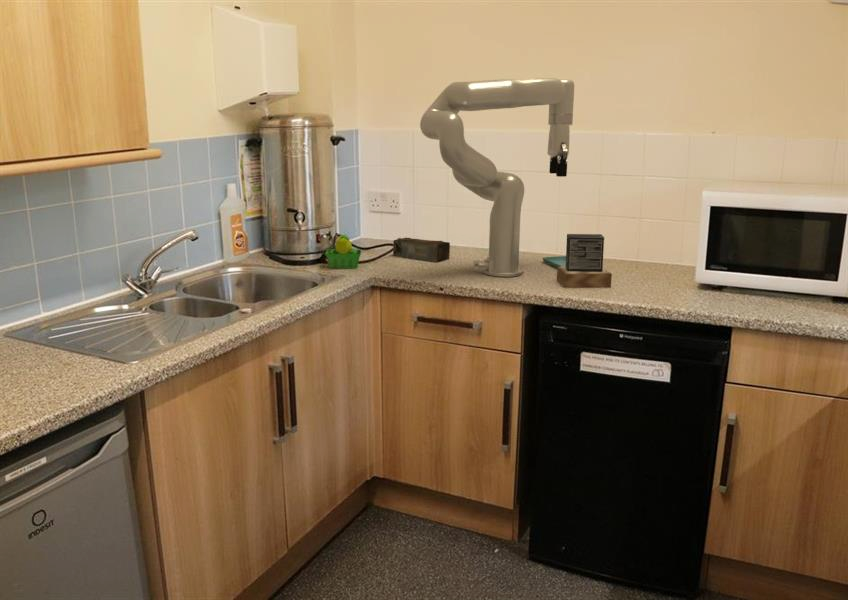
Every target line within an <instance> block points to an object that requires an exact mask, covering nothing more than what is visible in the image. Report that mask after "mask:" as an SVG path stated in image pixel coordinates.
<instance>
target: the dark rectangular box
mask: <svg viewBox="0 0 848 600" xmlns="http://www.w3.org/2000/svg"><path fill="white" fill-rule="evenodd" d="M392 244H393V250H392V251H393V252H392V253H393V257H397V258H402V259H403V258H404V259H411V260H418V261H425V262H426V261H427V262H432V261H433V263H440V262H444V261H447V259H448V260H450V255H451V254H450V250H451V249H450V247H451V243H450V242H447V241H443V240H429V239H428V240H427V239H421V238H420V239H418V238H412V237H403V238H401V237H398V238H397V239H394V240H393V243H392Z"/></svg>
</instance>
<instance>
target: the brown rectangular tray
mask: <svg viewBox="0 0 848 600" xmlns="http://www.w3.org/2000/svg"><path fill="white" fill-rule="evenodd" d="M612 276H613V275H612V273H611V272H610V271H608V270H607V269H606V268H605V267H603V271H602V272H594V271H567V269H566V266H559V267H557V268H556V281H557V280H558V281H559V282H560V283H561V284H560V283H559V282H558V281H557V282H558V283H559V284H560V285H563V286H564V287H570V288H612ZM563 286H562V287H563ZM564 287H563V288H564Z"/></svg>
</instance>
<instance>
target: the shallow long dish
mask: <svg viewBox="0 0 848 600" xmlns="http://www.w3.org/2000/svg"><path fill="white" fill-rule="evenodd" d="M541 259H542V260H543V262H544V264H547V265H549V266H551V267H553V268H555V269H557V267H559V266H566V255H562V256H561V255H560V256H545V257H542V258H541Z"/></svg>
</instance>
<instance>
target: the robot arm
mask: <svg viewBox="0 0 848 600" xmlns="http://www.w3.org/2000/svg"><path fill="white" fill-rule="evenodd" d="M574 97H575V82H574V80H572V79H559V78H556V77H555V78H553V77H552V78H551V77H549V78H548V77H546V78H543V77H542V78H534V79H514V78H513V79H509V78H508V79H507V78H506V79H505V78H503V79H501V78H500V79H490V80H489V79H488V80H477V81H476V80H474V81H472V80H471V81H455V82H452V83H450V84H448V85H447V86H446V87H445V88H444V90H442V91H441V92H440V94H439V95H438V96H437V97H436V98H435V100H434V101H433V102H432V103H431V104H430V106H429V107H428V108H427V109H426V110H425V111H424V113H423V115H422V117H421V118H420V122H419V127H420V131H421V133H422V134H423V136H425V137H426V138H428V139H431V140H436V141H437V140H438V141H439V142H438V143H439V144H438V145H439V150H440V151H439V152H440V157H441V160H443V162H444V163H445V164H446V165H447V167H449V168H451V169H452V171H451V172H452V175H453V177H454V179H455V180H456V181H457V183H459V184H460V185H461V186H463V187H465V188H466V189H467V190H469V191H471V192H472V193H474V194H475V195H477V196H478V197H480V198H481V199H484V200H486V201H490V202H493V203H492V207H491V210H490V214H489V231H488V232H489V235H488V236H489V237H488V238H489V239H488V242H489V243H488V256H486V259H483V260H476V259H475V260H473V267H478V268H483V273H484V274H485V275H488V276H492V277H500V278H501V277H502V278H508V277H509V278H510V277H520V276H521V275H523V274H524V269H523V268H521V267H519V261H520V258H519V257H520V235H521V234H520V233H521V212H522V204H523V201H524V195H525V184H524V182H523V180H522V179H521V178H520V177H519V176H518V175H516V174H514V173H510V172H504V171H497V167H496V165H495V163H494V162H493V161H492V160H491V159H490V158H488V157H486V156H485V155H483V154H482V153H480V152H479V151H477V150H476V149H474V148H473V147H472V146H470V145H469V144H468V143H467V141H466V140H465V139H466V138H465V128H464V127H465V126H464V122H463V119H462V118H461V116H460V115H459V113H460V111H461V112H477V111H480V112H481V111H487V110H488V111H490V110H502V109H514V108H521V107H533V106H535V107H536V106H548V123H547V124H548V126H549V132H548V142H547V155H548V156H549V157H550V158H549V174H556V175H555V176H556V177H562V178H563V177H564V178H565V177H567V176H568V175H567V173H568V156H569V155H570V126H572V125H573V120H574V118H573V116H574V100H575V99H574Z"/></svg>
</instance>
